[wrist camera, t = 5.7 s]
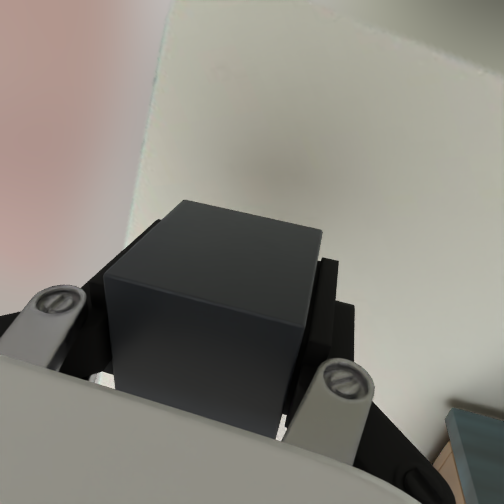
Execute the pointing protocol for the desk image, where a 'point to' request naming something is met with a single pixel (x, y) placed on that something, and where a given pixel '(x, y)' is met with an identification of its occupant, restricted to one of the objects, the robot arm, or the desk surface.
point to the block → (213, 313)
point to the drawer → (473, 458)
